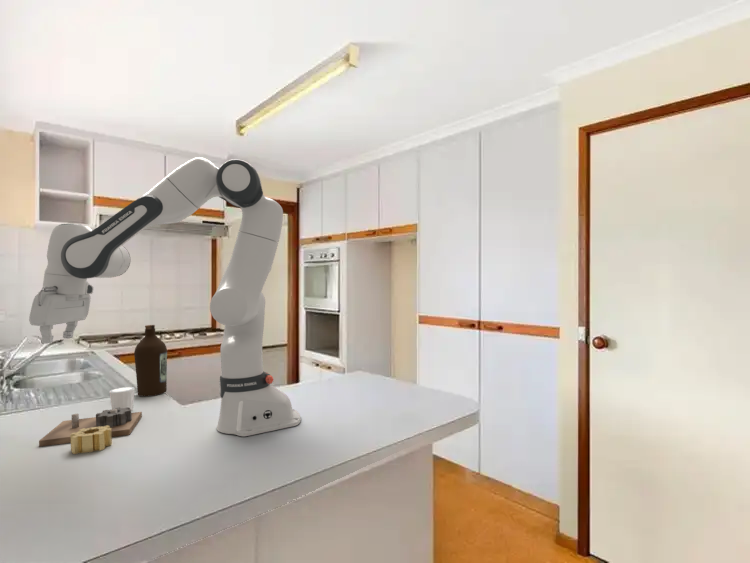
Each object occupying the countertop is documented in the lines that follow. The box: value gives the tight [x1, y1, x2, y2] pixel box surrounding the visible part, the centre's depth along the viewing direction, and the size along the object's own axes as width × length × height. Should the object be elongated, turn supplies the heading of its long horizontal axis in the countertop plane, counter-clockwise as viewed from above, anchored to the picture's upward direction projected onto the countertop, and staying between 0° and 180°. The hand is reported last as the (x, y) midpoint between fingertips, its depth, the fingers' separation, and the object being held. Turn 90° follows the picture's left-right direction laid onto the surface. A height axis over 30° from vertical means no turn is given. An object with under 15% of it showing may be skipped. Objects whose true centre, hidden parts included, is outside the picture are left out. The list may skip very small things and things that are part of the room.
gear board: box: [38, 407, 143, 448], centre depth 116 cm, size 20×16×5 cm
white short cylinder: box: [108, 386, 135, 412], centre depth 133 cm, size 7×7×7 cm
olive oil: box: [133, 324, 168, 397], centre depth 154 cm, size 11×11×25 cm
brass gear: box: [70, 425, 113, 455], centre depth 103 cm, size 8×7×4 cm
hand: (57, 340), depth 107 cm, fingers open, 8 cm apart
